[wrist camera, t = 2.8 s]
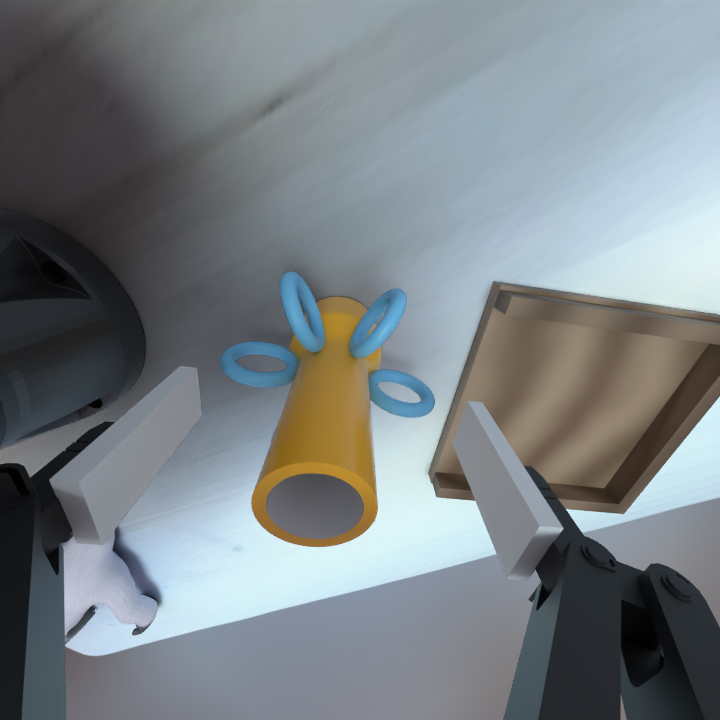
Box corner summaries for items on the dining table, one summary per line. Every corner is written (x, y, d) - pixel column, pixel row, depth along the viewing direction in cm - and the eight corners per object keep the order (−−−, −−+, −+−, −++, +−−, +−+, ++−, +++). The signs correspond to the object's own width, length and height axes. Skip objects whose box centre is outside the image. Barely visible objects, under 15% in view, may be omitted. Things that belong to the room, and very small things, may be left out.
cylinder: (237, 280, 21) (31, 406, 8) (378, 226, 20) (428, 267, 6) (307, 413, 26) (257, 625, 13) (423, 378, 25) (501, 577, 12)
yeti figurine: (145, 606, 44) (212, 544, 37) (117, 669, 39) (189, 610, 32) (-19, 570, 37) (25, 484, 30) (-84, 642, 31) (-48, 557, 24)
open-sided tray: (428, 473, 30) (435, 499, 27) (493, 281, 21) (513, 291, 19) (606, 490, 31) (629, 516, 29) (733, 316, 23) (784, 331, 20)
